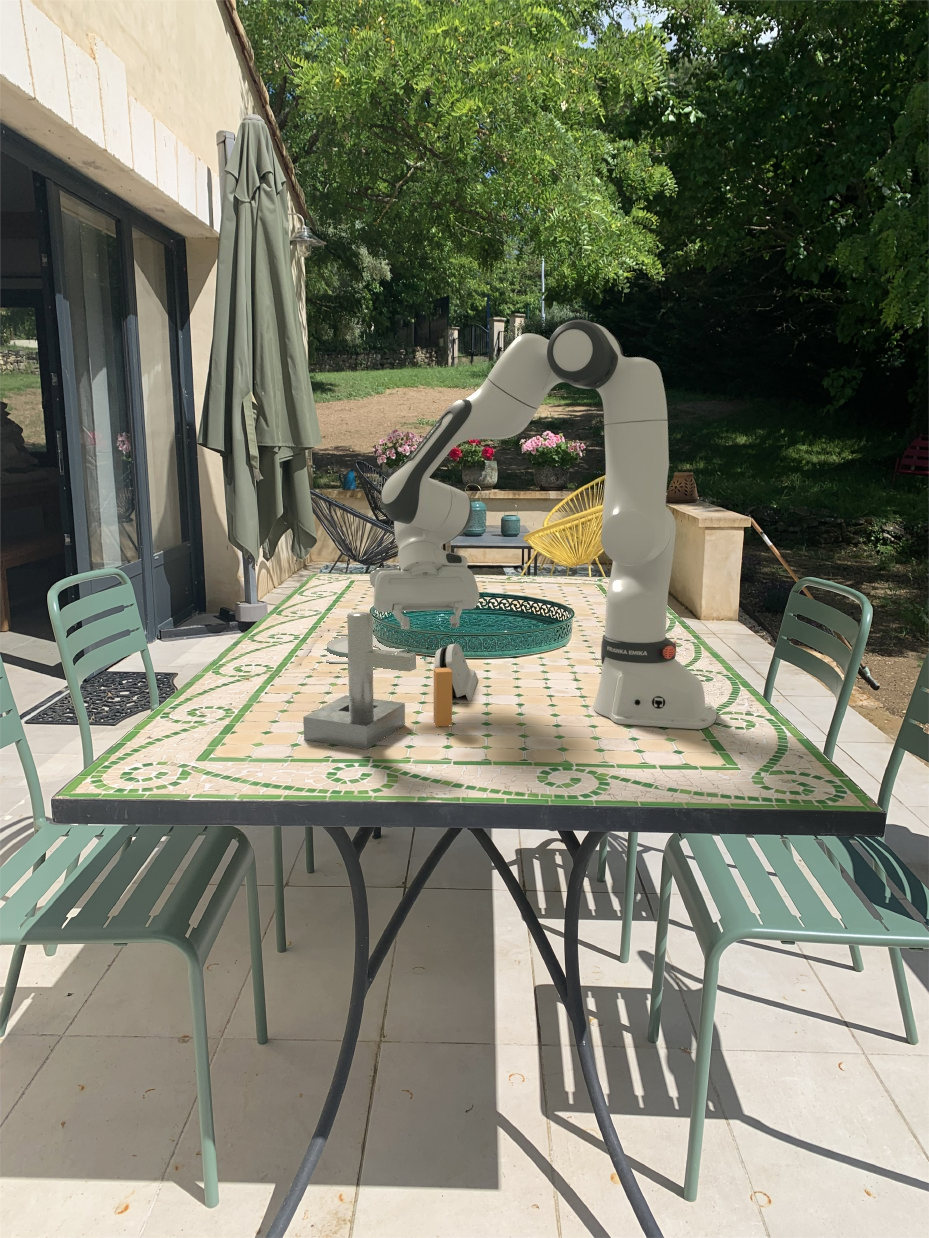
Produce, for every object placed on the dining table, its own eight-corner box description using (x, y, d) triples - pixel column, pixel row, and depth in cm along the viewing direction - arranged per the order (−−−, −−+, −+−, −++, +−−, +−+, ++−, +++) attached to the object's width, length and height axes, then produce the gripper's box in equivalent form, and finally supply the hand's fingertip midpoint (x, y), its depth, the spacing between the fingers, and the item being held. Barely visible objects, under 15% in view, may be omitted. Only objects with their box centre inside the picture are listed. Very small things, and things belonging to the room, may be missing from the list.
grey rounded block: (470, 701, 174) (453, 653, 173) (447, 708, 175) (430, 660, 174) (478, 678, 191) (462, 634, 189) (457, 684, 191) (441, 641, 190)
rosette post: (443, 730, 157) (443, 606, 153) (407, 756, 145) (407, 621, 140) (346, 716, 165) (343, 597, 160) (304, 739, 152) (300, 611, 147)
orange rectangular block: (448, 721, 162) (449, 667, 160) (452, 726, 159) (452, 671, 157) (433, 722, 162) (433, 668, 160) (436, 727, 159) (436, 672, 157)
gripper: (369, 558, 172) (376, 619, 164) (474, 556, 176) (485, 615, 168) (367, 578, 177) (374, 637, 169) (469, 575, 181) (480, 633, 174)
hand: (430, 626), depth 169 cm, fingers open, 8 cm apart
